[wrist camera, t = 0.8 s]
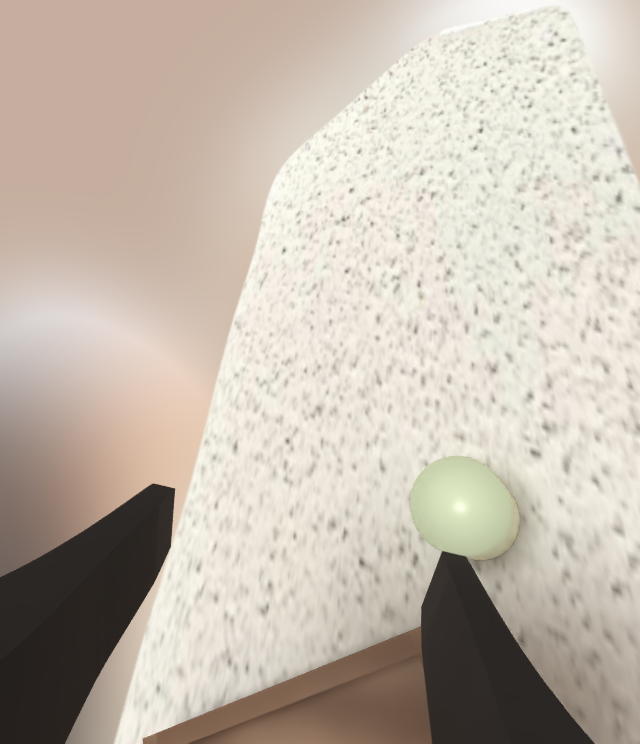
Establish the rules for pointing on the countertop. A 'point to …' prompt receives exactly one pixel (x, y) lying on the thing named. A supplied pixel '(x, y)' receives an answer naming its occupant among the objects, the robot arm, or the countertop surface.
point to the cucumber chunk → (464, 509)
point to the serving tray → (327, 704)
